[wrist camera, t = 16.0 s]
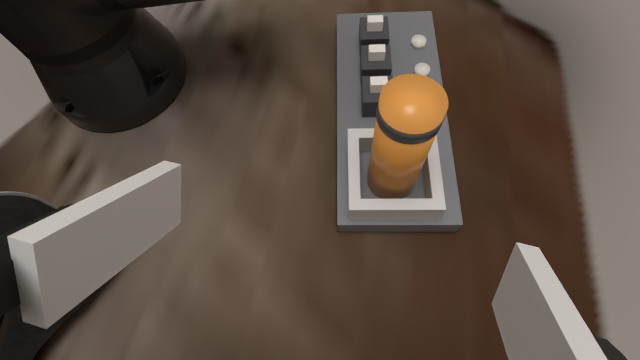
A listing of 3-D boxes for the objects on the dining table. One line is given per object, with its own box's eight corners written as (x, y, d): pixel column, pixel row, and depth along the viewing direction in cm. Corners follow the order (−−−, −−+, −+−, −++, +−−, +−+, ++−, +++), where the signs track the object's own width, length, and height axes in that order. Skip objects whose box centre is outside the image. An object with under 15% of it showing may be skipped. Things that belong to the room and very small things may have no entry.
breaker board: (456, 231, 35) (476, 210, 30) (337, 231, 36) (336, 210, 30) (427, 24, 46) (438, -18, 41) (337, 27, 47) (336, -14, 41)
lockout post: (359, 166, 36) (367, 84, 25) (402, 152, 37) (429, 65, 26) (377, 208, 34) (396, 138, 23) (423, 192, 35) (462, 117, 24)
